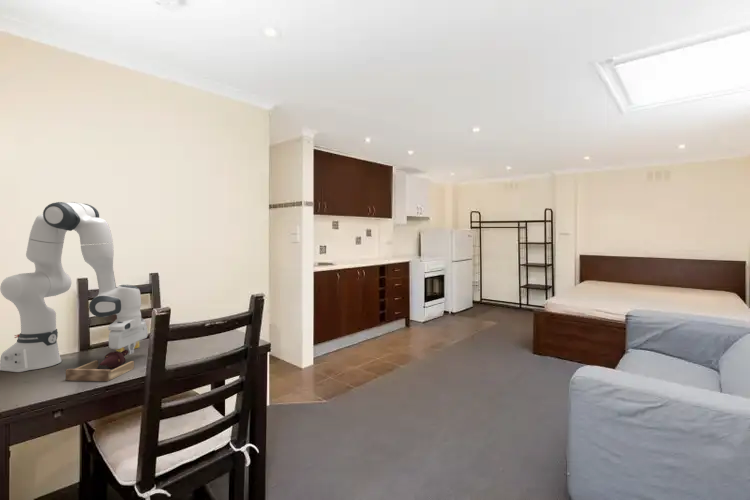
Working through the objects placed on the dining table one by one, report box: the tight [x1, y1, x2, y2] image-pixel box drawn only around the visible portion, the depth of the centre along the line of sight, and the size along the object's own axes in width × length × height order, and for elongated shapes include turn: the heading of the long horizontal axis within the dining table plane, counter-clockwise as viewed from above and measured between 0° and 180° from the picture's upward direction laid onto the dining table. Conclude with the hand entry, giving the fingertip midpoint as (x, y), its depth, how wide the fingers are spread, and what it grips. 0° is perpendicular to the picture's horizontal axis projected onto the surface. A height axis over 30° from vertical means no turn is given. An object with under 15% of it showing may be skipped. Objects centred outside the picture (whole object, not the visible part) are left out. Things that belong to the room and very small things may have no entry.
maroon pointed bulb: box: [98, 350, 128, 370], centre depth 156 cm, size 7×7×15 cm
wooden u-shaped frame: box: [65, 359, 135, 382], centre depth 149 cm, size 16×14×4 cm
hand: (129, 353), depth 165 cm, fingers closed
